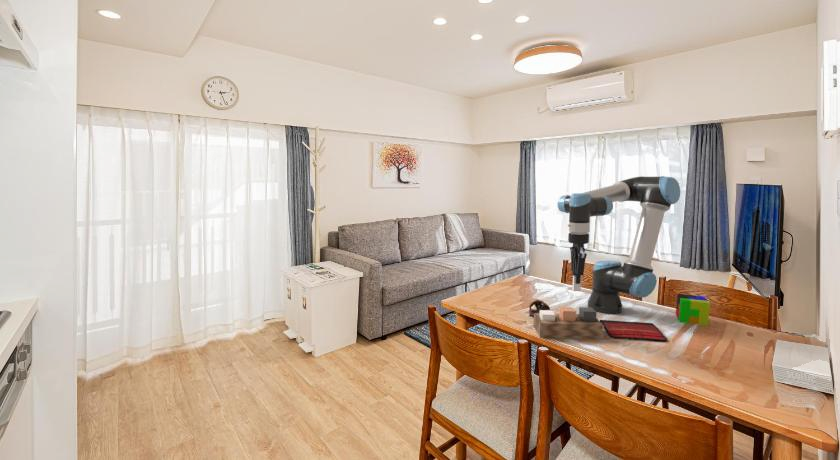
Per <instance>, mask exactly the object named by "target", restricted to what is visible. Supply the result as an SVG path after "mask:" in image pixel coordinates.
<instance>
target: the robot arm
mask: <svg viewBox="0 0 840 460" xmlns="http://www.w3.org/2000/svg"><path fill="white" fill-rule="evenodd" d="M678 181H679V180H677V179H676V178H675V177H671V176H665V175H663V176H635V177H631V178H626V179H622V180H619V181H616V182H615V183H613V184H612V185H609V186H604V187H601V188H597V189H593V190H589V191H585V192H581V193H580V192H578V193H576V192H575V193H571V195H570V194H567V195H561V196H560V197H559V198H558V200H557V209H558V210H559V211H560V212H562V213H566V214H569V215H568V216H569V217H568V218H569V219H568V224H567V227H568V232H569V233H568V234H567V235H568V238H567V239H568V242H569V244H572V246H570V247H569V249H570V250H569V251H570V265H571V266H570V268H571V269H570V270H571V272H572V292H581V288H582V276H584V272H585V267H586V266H585V264H586V258H587V253H586V248H585V245H587V244H588V243H589V242H590V234H589V232H590V229H591V228H590V225H591V217H600V216H601V217H603V216H606V215H609V214H611V213H612V211H613V209H614V202H620V203H623V202H639V205H640V206H641V208H642V210H641V213H640V217H639V221H638V224H637V228H636V232H635V235H634V239H633V243H632V248H631V250H630V253H629V259H628V260H626V261H624V262H623V266H622V262H621V261H618V260H600V261H596V262H594V265H593V269H592V272H593V273H592V274H593V275H592V290H591V293H590V296H589V298H588V299H587V306H586V307H592V308H593V309H594V310H595V311H596V312H597V313H602V314H610V315H612V314H613V315H614V314H620V313H622V312H623V303H622V299H621V296H620V293H621V294H622V293H623V294H626V295H629V296H631V297H637V298H646V297H649V296H651V295H650V294H652V293H653V291H654V290H655V288H656V285H657V276H656V274H655V273H654V268H653V267H652V260H653V258H654V257H653V256H654V253H655V249H656V246H657V242H658V240H659V239H658V238H659V235H660V232H661V229H662V228H661V227H662V224H663V220H664V216H665V213H666V212H667V211H669V210H670V209H671V206H672V205H675V204H677V203H678V202H679V200H680V198H681V186H680V184H679V182H678Z"/></svg>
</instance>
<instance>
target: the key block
mask: <svg viewBox="0 0 840 460" xmlns="http://www.w3.org/2000/svg"><path fill="white" fill-rule="evenodd" d="M554 314H555V321H541V319H540V318H539V313H534V315H533V327H534V328H533V329H534V330H535V332H536V333H537V336H538V337H539V338H542V339H544V338H545V339H546V338H548V339H551V338H552V339H580V340H581V339H582V340H584V339H589V340H590V339H592V340H603V332H604V331H603V330H604V328H603V327H604V326H603V324H602V323H601V322H600V319H598V318H597V317H596V322H582V321H581V320H580V319H579V313H576V321H561V320H560V318H559V313H556V312H554Z"/></svg>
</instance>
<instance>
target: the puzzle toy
mask: <svg viewBox="0 0 840 460" xmlns="http://www.w3.org/2000/svg"><path fill="white" fill-rule="evenodd" d="M675 307H676V309H675V316H676V318H677V321H679V323H682V324H683V323H684V324H692V325H697V324H698V326H706V327H708V326H709V319H710V318H709V317H710V309H711V308H710V307H711V303H710V301H709V300H708V299H707V298H706V296H702V295H695V294H694V295H693V294H683V293H677V298H676V305H675Z"/></svg>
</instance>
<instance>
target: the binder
mask: <svg viewBox="0 0 840 460" xmlns="http://www.w3.org/2000/svg"><path fill="white" fill-rule="evenodd" d="M599 321H600V322H601V323H602V324H603V330H604V331H605V333H606V334H607V335H608V336H609V338H611V339H615V340H617V339H618V340H635V341H636V340H637V341H638V340H640V341H652V342H658V343H666V342H668V338H667V337H666V335H664V334H663V333H662V331H661V330H659V328H658V327H657V326H656V325H655V324H654V323H653V322H643V321H642V322H641V321H640V322H639V321H638V322H637V321H622V320H609V319H608V320H606V319H599Z"/></svg>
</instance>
